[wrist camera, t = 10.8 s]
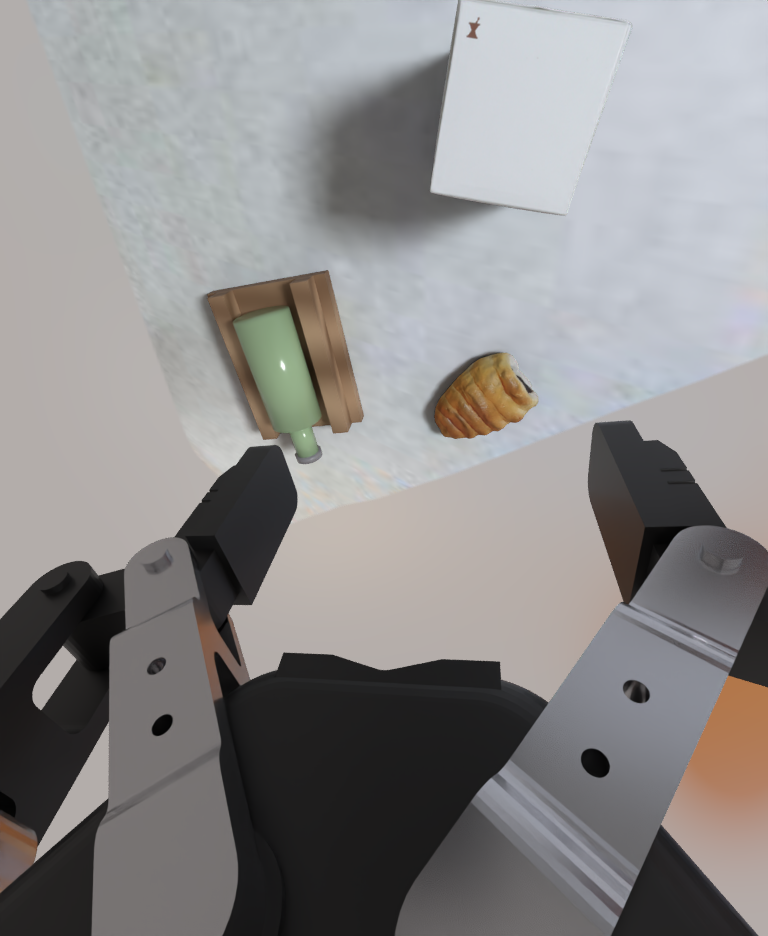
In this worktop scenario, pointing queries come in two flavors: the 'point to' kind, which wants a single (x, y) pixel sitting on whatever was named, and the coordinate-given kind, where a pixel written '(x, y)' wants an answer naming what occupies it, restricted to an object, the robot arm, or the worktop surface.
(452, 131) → the supplement box
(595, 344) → the worktop surface
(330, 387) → the cradle
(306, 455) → the bottle
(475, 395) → the pastry
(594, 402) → the worktop surface
